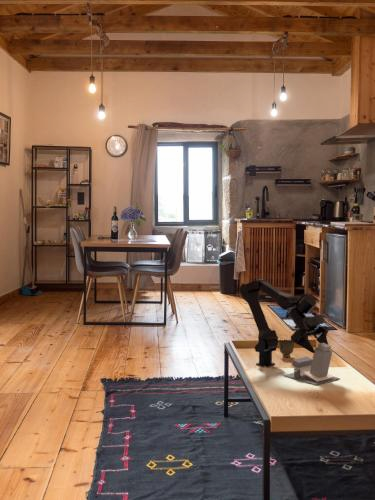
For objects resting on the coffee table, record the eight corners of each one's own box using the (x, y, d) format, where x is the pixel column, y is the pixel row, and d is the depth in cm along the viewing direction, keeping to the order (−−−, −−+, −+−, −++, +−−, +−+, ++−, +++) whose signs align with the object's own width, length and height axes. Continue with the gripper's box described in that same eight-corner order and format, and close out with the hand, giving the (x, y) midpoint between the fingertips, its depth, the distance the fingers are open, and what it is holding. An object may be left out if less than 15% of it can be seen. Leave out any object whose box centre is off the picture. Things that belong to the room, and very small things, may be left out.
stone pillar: (309, 372, 218) (315, 343, 215) (317, 370, 221) (323, 341, 218) (319, 378, 214) (325, 348, 211) (327, 376, 217) (333, 346, 214)
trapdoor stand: (283, 376, 223) (283, 366, 223) (307, 370, 232) (307, 361, 232) (316, 385, 209) (316, 375, 209) (339, 379, 218) (339, 369, 218)
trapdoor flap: (290, 366, 223) (292, 359, 222) (306, 362, 229) (307, 356, 228) (317, 381, 212) (318, 374, 211) (333, 377, 218) (334, 371, 217)
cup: (295, 359, 252) (295, 342, 252) (279, 359, 253) (280, 342, 252) (292, 355, 260) (292, 339, 260) (277, 355, 260) (277, 339, 260)
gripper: (296, 310, 214) (317, 342, 206) (325, 306, 225) (347, 336, 217) (281, 327, 221) (301, 358, 212) (311, 322, 232) (331, 352, 224)
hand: (321, 351), depth 216 cm, fingers open, 9 cm apart
